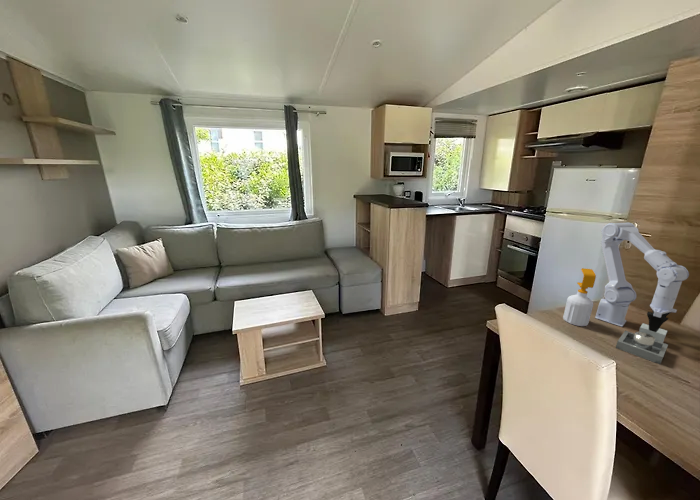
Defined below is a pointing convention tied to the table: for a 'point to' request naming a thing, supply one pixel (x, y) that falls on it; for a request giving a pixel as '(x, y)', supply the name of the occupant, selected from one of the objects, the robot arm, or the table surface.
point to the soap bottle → (580, 301)
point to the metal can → (643, 340)
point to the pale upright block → (657, 335)
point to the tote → (653, 355)
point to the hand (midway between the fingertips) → (654, 327)
